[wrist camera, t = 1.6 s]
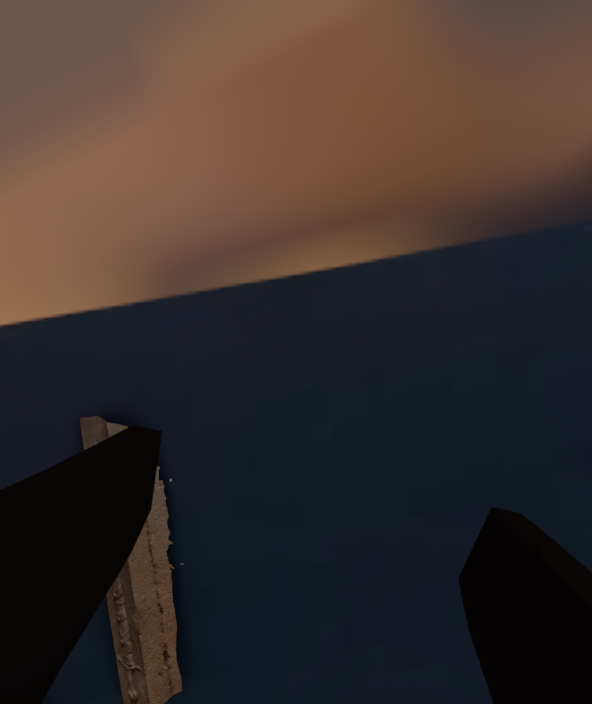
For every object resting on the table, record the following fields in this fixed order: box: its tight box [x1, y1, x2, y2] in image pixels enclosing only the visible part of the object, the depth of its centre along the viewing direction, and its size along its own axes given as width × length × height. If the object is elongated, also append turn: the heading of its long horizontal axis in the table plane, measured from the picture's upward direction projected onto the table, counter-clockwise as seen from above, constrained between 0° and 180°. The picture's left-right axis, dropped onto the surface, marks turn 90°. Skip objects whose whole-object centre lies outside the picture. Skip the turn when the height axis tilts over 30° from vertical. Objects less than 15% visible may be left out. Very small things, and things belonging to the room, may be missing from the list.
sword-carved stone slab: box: [80, 416, 183, 704], centre depth 25 cm, size 18×3×4 cm
